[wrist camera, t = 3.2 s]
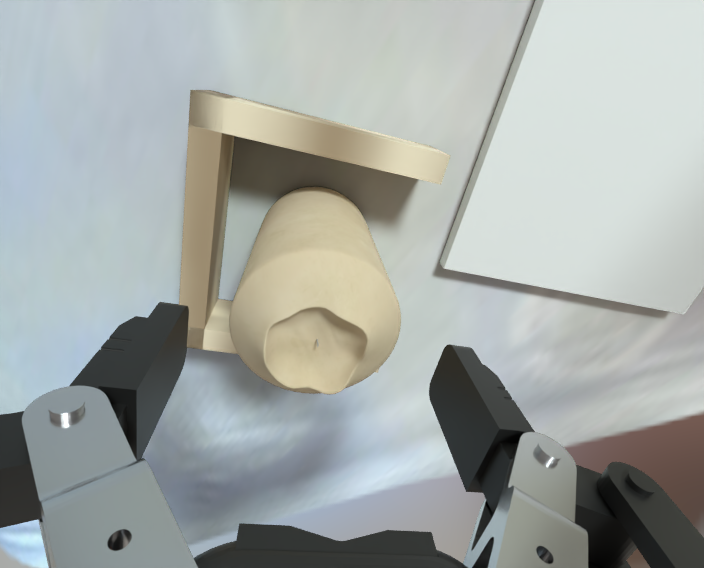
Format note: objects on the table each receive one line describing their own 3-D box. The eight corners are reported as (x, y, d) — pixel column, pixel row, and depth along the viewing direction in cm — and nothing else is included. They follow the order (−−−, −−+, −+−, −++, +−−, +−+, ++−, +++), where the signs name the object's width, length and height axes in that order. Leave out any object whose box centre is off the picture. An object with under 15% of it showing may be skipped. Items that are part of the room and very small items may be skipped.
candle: (349, 169, 19) (383, 241, 10) (379, 267, 21) (428, 396, 12) (243, 205, 19) (181, 308, 10) (285, 297, 21) (266, 445, 12)
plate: (578, -117, 15) (591, -128, 14) (877, 10, 18) (901, 7, 17) (439, 262, 21) (443, 268, 21) (673, 308, 24) (684, 314, 24)
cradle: (193, 313, 21) (177, 346, 19) (210, 90, 16) (190, 90, 14) (370, 340, 23) (377, 372, 20) (430, 146, 18) (450, 155, 16)
